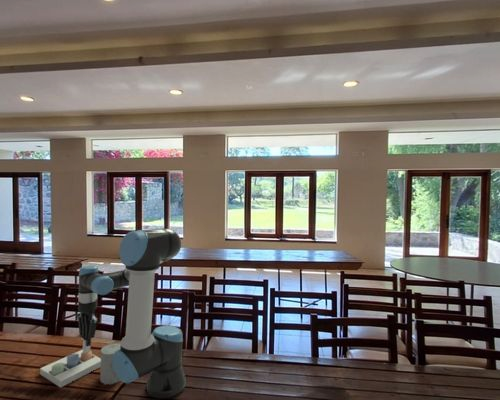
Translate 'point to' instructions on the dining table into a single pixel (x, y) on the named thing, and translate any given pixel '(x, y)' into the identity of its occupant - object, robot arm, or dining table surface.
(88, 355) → the terracotta button
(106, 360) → the light grey cylinder
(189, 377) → the dining table surface
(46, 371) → the panel
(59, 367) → the sage button
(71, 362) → the slate button
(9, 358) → the dining table surface
